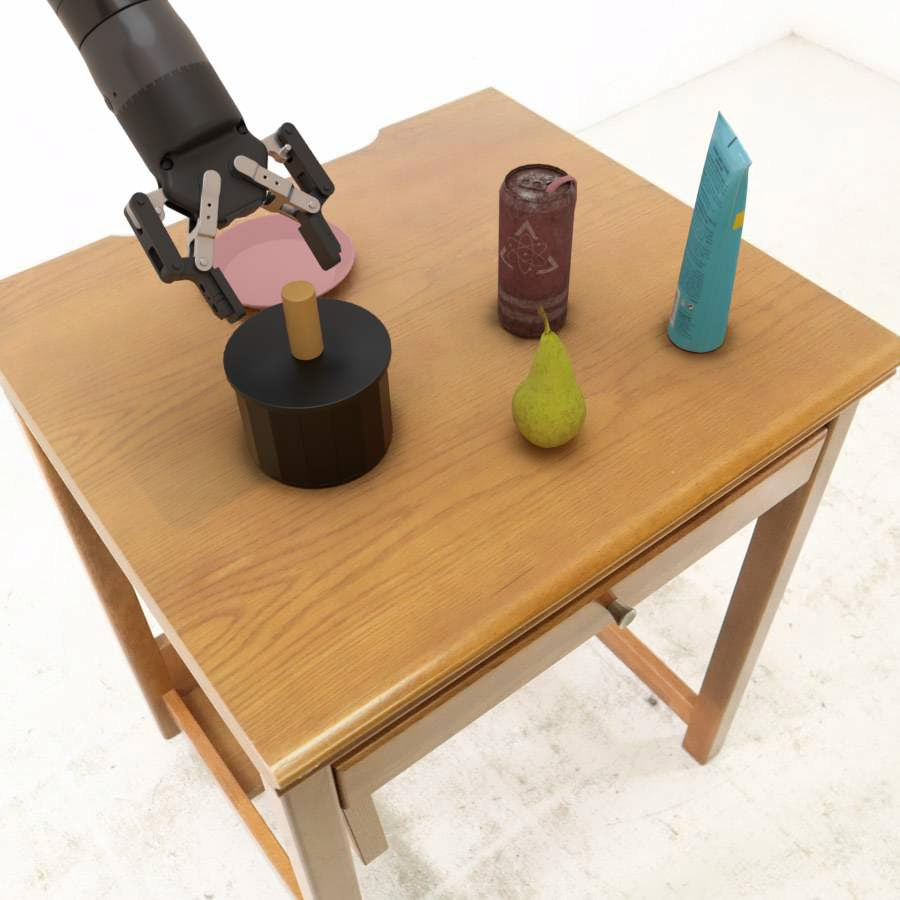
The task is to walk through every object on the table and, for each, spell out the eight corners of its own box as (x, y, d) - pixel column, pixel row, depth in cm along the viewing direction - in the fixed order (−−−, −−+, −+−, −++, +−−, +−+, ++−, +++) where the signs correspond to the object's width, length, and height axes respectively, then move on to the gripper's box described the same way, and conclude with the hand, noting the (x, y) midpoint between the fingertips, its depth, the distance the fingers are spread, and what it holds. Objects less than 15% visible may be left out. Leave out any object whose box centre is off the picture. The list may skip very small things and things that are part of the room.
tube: (738, 357, 90) (784, 156, 76) (684, 367, 90) (721, 166, 76) (704, 304, 95) (742, 106, 81) (653, 313, 95) (682, 115, 81)
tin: (329, 511, 79) (316, 432, 73) (219, 449, 84) (198, 369, 78) (420, 422, 86) (415, 342, 80) (313, 369, 90) (301, 289, 84)
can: (580, 328, 93) (592, 190, 83) (514, 347, 92) (518, 208, 82) (551, 289, 97) (559, 152, 87) (487, 306, 96) (487, 169, 86)
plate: (177, 267, 101) (172, 250, 99) (306, 213, 107) (303, 196, 105) (251, 344, 93) (247, 326, 91) (386, 281, 99) (384, 264, 97)
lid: (318, 445, 73) (306, 373, 68) (190, 376, 78) (171, 305, 74) (425, 347, 80) (421, 275, 75) (301, 290, 85) (290, 219, 80)
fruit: (567, 474, 81) (577, 356, 73) (498, 450, 83) (500, 333, 75) (594, 426, 85) (607, 308, 76) (528, 404, 87) (533, 287, 78)
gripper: (80, 103, 67) (221, 326, 69) (262, 27, 73) (384, 234, 76) (61, 148, 73) (191, 350, 76) (229, 75, 80) (343, 263, 82)
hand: (287, 292), depth 76 cm, fingers open, 8 cm apart
